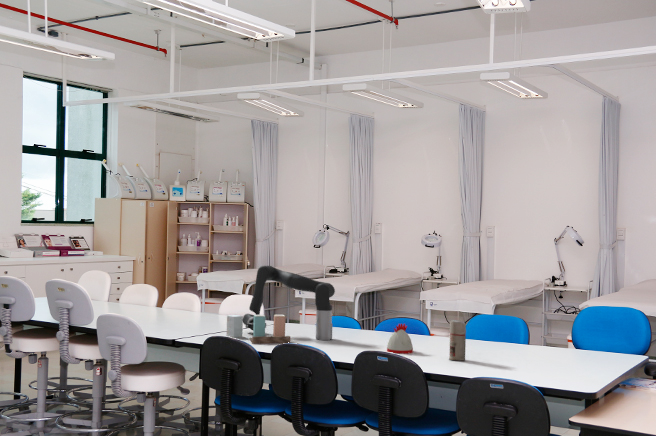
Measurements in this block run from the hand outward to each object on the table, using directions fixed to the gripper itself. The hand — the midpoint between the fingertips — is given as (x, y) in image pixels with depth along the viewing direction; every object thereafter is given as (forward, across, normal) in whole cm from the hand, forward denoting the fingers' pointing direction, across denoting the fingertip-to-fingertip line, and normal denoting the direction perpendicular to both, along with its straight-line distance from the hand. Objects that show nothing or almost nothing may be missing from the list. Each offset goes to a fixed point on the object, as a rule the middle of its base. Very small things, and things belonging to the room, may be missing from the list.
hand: (257, 327), depth 378 cm
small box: (-11, -12, +8) cm, 18 cm away
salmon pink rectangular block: (+7, +12, +7) cm, 15 cm away
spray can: (+69, +93, +8) cm, 116 cm away
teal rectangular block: (+7, 0, +7) cm, 9 cm away
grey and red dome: (+42, +72, +8) cm, 84 cm away
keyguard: (+10, +6, +8) cm, 13 cm away
